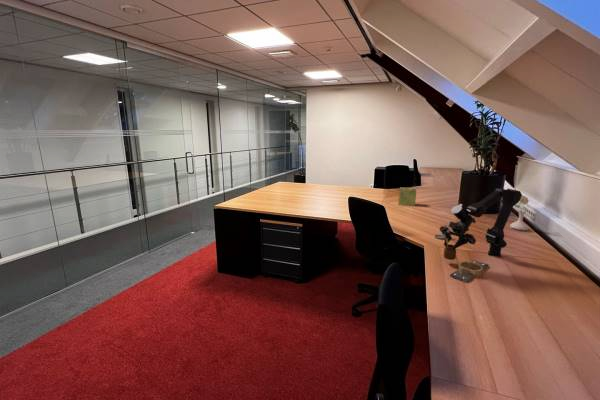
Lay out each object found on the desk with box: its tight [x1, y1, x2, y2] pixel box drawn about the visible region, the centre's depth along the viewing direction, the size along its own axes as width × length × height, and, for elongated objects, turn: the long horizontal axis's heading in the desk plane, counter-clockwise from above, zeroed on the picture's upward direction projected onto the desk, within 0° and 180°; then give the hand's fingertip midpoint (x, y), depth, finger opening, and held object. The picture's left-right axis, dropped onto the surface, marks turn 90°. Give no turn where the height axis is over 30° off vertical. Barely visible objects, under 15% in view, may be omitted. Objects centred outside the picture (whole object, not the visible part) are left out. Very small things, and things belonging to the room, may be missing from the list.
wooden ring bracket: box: [449, 259, 490, 283], centre depth 154 cm, size 27×11×3 cm, turn 129°
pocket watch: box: [434, 223, 448, 240], centre depth 201 cm, size 8×8×10 cm
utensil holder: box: [443, 238, 458, 261], centre depth 162 cm, size 6×6×12 cm
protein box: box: [397, 187, 417, 207], centre depth 290 cm, size 10×15×16 cm
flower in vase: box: [509, 195, 530, 231], centre depth 216 cm, size 13×11×25 cm
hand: (448, 247), depth 161 cm, fingers closed on utensil holder, 5 cm apart
